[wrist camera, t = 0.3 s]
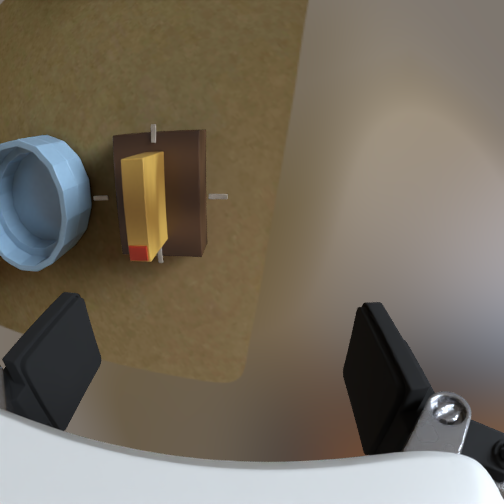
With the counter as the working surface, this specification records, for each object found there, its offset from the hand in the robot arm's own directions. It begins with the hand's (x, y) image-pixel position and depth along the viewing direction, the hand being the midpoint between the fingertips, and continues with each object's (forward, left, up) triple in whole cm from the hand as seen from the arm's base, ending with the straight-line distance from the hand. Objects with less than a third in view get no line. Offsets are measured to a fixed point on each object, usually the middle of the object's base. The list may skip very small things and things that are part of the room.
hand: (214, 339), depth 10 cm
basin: (-1, -20, -18) cm, 27 cm away
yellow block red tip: (-1, -7, -15) cm, 16 cm away
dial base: (-1, -7, -18) cm, 19 cm away
